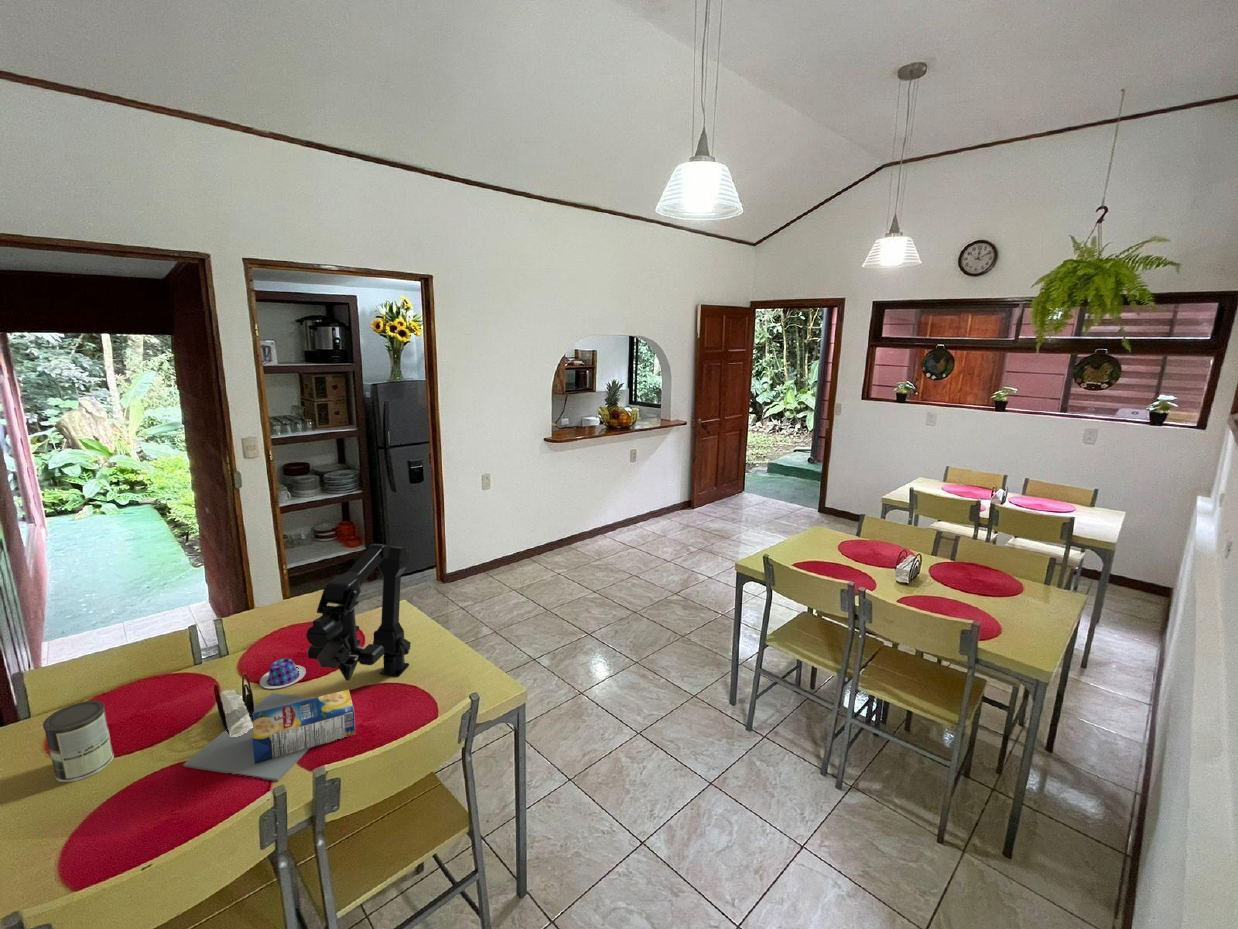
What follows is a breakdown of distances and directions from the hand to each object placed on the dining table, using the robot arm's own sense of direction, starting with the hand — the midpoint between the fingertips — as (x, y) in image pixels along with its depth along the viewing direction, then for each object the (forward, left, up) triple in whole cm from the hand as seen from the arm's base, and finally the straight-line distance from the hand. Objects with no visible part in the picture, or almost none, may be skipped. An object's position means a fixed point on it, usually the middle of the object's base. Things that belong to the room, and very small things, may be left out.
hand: (348, 680), depth 150 cm
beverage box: (+2, +2, -8) cm, 8 cm away
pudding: (-12, -31, -12) cm, 35 cm away
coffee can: (+28, -50, -11) cm, 59 cm away
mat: (+10, -15, -11) cm, 21 cm away
